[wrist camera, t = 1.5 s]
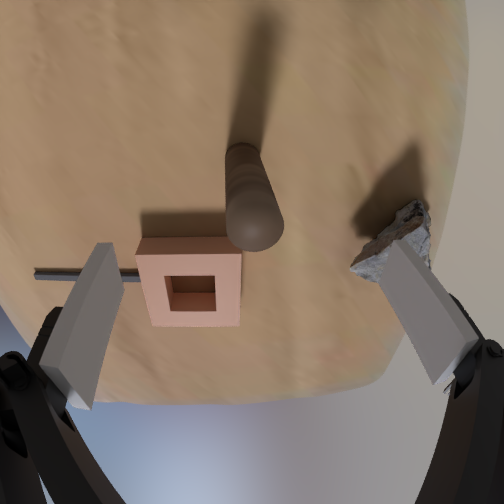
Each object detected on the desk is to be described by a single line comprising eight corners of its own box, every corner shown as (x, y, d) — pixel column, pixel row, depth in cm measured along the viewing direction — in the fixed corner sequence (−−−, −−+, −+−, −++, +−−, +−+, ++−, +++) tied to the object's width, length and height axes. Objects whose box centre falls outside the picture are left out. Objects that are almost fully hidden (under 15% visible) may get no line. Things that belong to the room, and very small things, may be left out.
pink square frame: (141, 237, 29) (135, 254, 26) (239, 236, 30) (241, 253, 27) (156, 307, 34) (152, 325, 32) (238, 307, 35) (239, 326, 33)
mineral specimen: (382, 224, 36) (362, 175, 29) (440, 230, 31) (435, 178, 24) (364, 293, 34) (339, 257, 27) (427, 305, 29) (424, 270, 21)
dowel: (225, 142, 24) (226, 201, 14) (260, 143, 24) (286, 201, 15) (224, 174, 26) (226, 252, 16) (258, 174, 26) (281, 251, 16)
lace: (35, 271, 30) (33, 274, 29) (148, 273, 31) (147, 276, 31) (37, 276, 30) (35, 279, 30) (149, 278, 32) (148, 282, 31)
